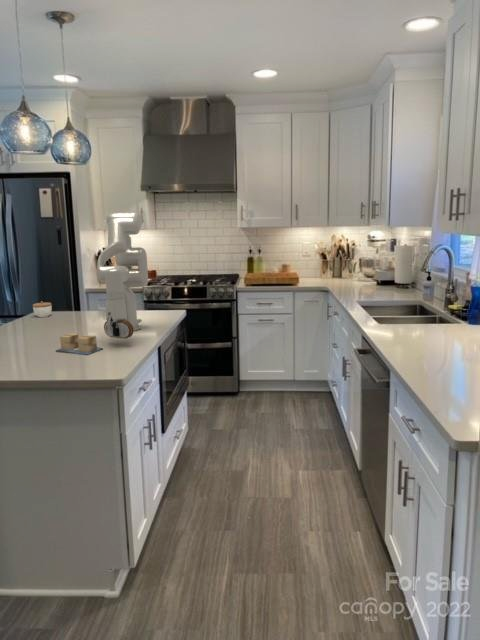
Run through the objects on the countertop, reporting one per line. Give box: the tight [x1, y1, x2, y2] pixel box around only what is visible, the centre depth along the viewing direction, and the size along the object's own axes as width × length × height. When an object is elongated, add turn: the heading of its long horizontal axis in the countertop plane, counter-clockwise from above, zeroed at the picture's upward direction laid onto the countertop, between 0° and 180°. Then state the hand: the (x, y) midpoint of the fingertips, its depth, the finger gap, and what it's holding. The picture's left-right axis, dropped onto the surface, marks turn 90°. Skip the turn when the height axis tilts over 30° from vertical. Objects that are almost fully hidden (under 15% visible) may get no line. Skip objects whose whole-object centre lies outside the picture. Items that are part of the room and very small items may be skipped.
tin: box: [103, 320, 135, 340], centre depth 228 cm, size 15×3×8 cm, turn 66°
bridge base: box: [55, 333, 104, 356], centre depth 221 cm, size 10×18×7 cm, turn 66°
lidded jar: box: [32, 300, 53, 318], centre depth 301 cm, size 11×11×9 cm
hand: (118, 334), depth 228 cm, fingers closed on tin, 2 cm apart
